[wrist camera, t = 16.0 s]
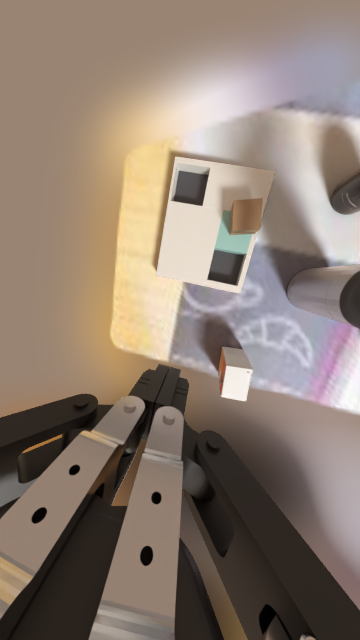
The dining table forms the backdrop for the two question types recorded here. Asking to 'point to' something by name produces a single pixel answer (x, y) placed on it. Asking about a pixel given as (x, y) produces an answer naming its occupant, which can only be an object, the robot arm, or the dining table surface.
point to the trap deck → (209, 223)
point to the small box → (234, 373)
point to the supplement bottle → (347, 195)
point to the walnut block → (245, 216)
